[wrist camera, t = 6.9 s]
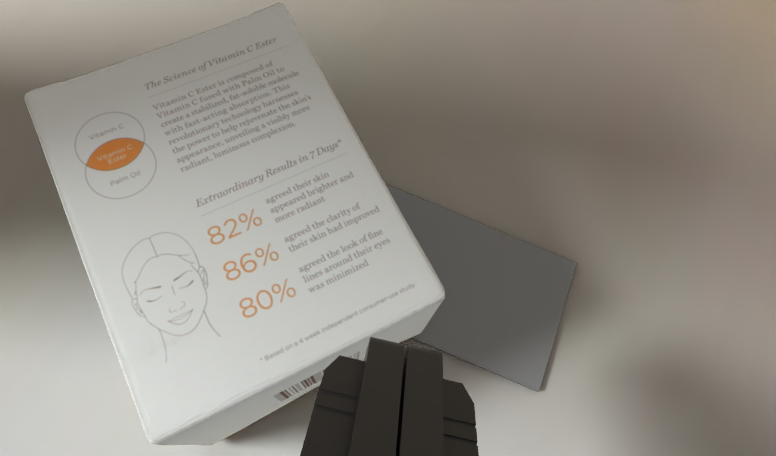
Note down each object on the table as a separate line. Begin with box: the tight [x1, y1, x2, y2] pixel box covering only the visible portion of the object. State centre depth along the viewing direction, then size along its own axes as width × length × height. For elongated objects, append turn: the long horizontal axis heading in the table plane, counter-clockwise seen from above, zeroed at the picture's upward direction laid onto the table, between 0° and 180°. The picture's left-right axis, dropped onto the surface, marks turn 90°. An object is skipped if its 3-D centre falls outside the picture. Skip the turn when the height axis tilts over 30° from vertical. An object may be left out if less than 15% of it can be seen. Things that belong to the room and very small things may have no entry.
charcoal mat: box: [385, 183, 577, 392], centre depth 21 cm, size 11×5×1 cm, turn 67°
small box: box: [24, 3, 445, 445], centre depth 18 cm, size 8×6×10 cm
